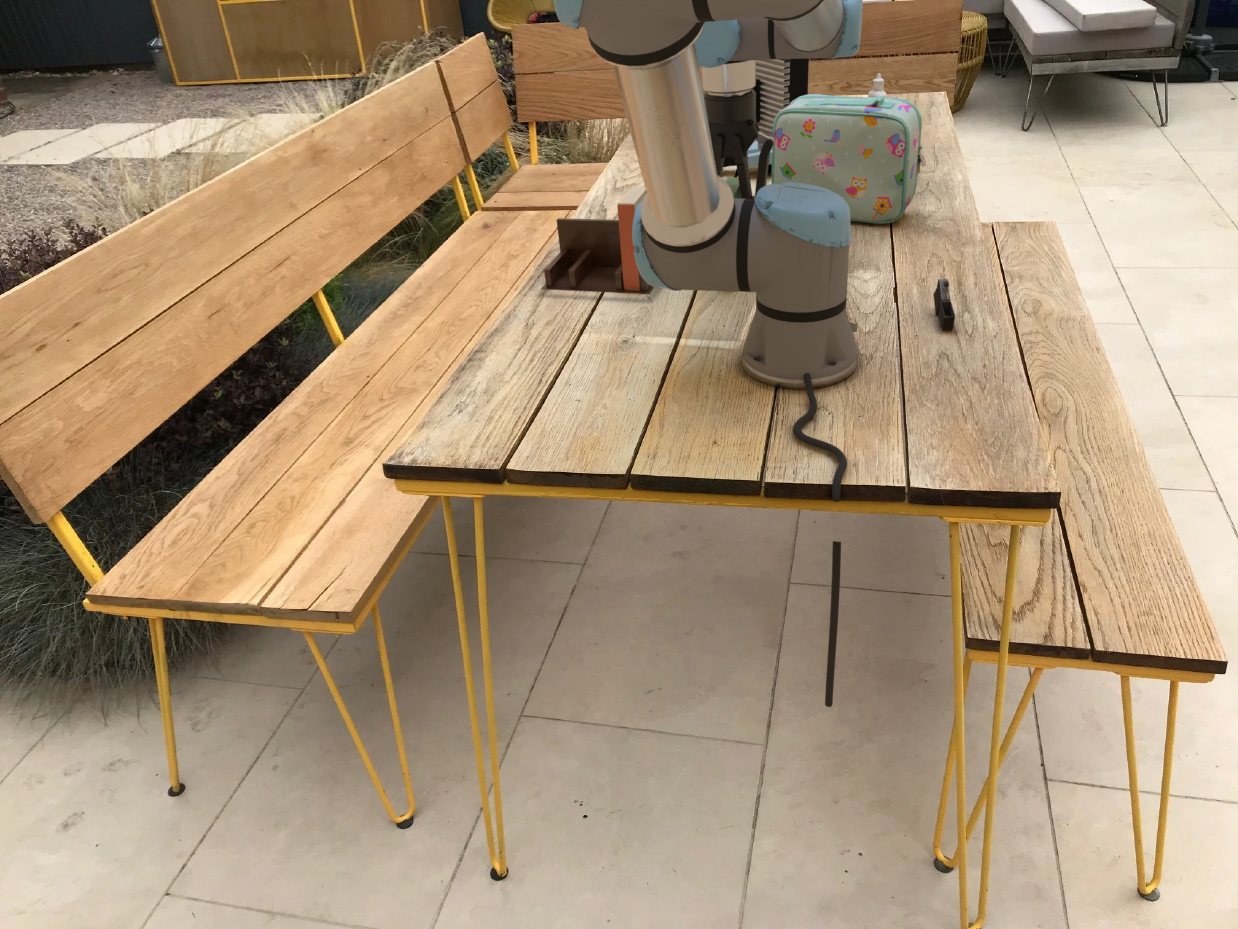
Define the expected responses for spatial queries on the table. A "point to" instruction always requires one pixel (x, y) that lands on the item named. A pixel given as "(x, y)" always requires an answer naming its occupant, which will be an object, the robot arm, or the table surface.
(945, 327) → the black narrow holder
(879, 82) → the eye dropper bottle
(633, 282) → the cream book
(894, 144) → the lunch box
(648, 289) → the book rack
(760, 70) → the electronic device
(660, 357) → the table surface
